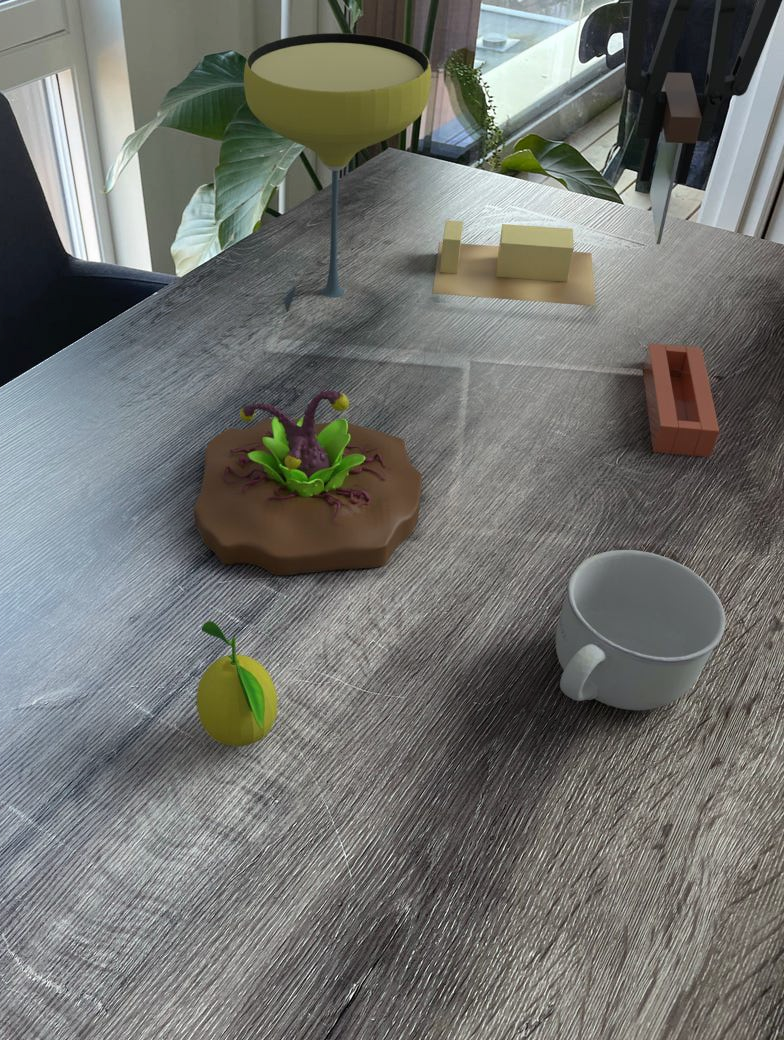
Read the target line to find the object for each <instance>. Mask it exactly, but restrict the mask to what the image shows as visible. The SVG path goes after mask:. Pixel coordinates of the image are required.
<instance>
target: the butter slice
mask: <svg viewBox="0 0 784 1040" xmlns="http://www.w3.org/2000/svg"><path fill="white" fill-rule="evenodd" d="M463 225H464V221H462V220H451V219H449V220H448V219H446V220H445V224H444V231H443V236H442V237H443V238H442V242H443V246H442V256H441V265H440V273H454V274H457V271H458V263H459V254H460V246H461V244H462V235H463V227H464V226H463Z"/></svg>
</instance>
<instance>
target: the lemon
mask: <svg viewBox="0 0 784 1040" xmlns="http://www.w3.org/2000/svg"><path fill="white" fill-rule="evenodd" d="M201 631H202V632H203V633H206V634H207V635H210V636H212V637H215V638H217V639H221V640H222V641H223V642H224V643H226V644H227V645H228V646H231V654H229V655H224V656H222V657H220V658H218V659H216V660H215V661H213V662H212V663H211V664H210V665H209V666H208V667H207V668H206V669H205V671H204V672H203V674H202V676H201V678H200V679H199V682H198V686H197V692H196V693H197V695H196V710H197V714H198V718H199V722H200V725H201V726H202V727H203V729H204V730H205V732H206V733H207V734H208V736H209V737H210V738H212V740H215V741H216V742H218V743H219V744H222V745H227V746H231V747H245V746H249V745H253V744H255V743H257V742H259V741H262V740H263V739H264V737H266V735H268V733H269V732H270V731H271V730H272V727H273V726H274V723H275V720H276V718H277V716H278V693H277V689H276V686H275V683H274V682H273V681H274V680H273V679H272V676H271V674H270V672H268V671H267V669H266V668H265V667H264V666H263V665H262V664H261V663H260V662H259V661H258V660H256V659H254V658H252V657H250V656H248V655H243V654H239V653H238V654H237V652H236V651H237V650H236V637H235V636H234V637H232V638H231V640H228V639H227V638H226V636H225V634H224V632H223V631H222V629H221V628H220V626H219V625H218V624H217V623H215V622H214V621H213V620H209V621H205V623H203V624H202V626H201Z"/></svg>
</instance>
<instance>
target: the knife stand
mask: <svg viewBox="0 0 784 1040" xmlns="http://www.w3.org/2000/svg"><path fill="white" fill-rule="evenodd" d="M643 367H644V368H641V369H642V377H643V384H644V393H645V399H646V400H645V401H646V407H647V414H648V423H649V430H650V431H649V432H650V437H651V446H652V452H653V453H664V454H672V455H673V454H674V455H683V456H693V457H694V456H695V457H706V458H711V456H712V454H713V451H714V449H715V447H716V446H715V445H716V442H717V440H718V437H719V434H720V427H719V423H718V418H717V414H716V409H715V408H716V407H715V404H714V399H713V395H712V390H711V385H710V380H709V375H708V372H707V371H708V370H707V366H706V361H705V357H704V352H703V348H702V347H699V346H687V345H675V344H663V343H651V342H650V343H648V345H647V349H646V352H645V356H644V360H643Z"/></svg>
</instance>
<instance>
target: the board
mask: <svg viewBox="0 0 784 1040" xmlns="http://www.w3.org/2000/svg"><path fill="white" fill-rule="evenodd" d="M442 246H443V241H439V245H438V251H437V258H436V265H435V271H434V278H433V285H432V292H431V294H435V295H446V296H459V297H460V296H462V297H475V298H485V299H486V298H488V299H500V300H513V301H525V302H526V301H527V302H538V303H550V304H551V303H552V304H565V305H576V306H577V305H578V306H589V307H590V306H591V307H596V306H597V305H596V292H595V280H594V279H595V278H594V268H593V253H592V252H584V251H583V252H582V251H573V255H572V260H571V266H570V271H569V276H568V281H567V282H559V281H546V280H532V279H519V278H506V277H496V275H497V259H498V251H499V245H486V244H471V243H461V246H460V254H459V263H458V271H457V274H454V273H440V265H441V256H442Z"/></svg>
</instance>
